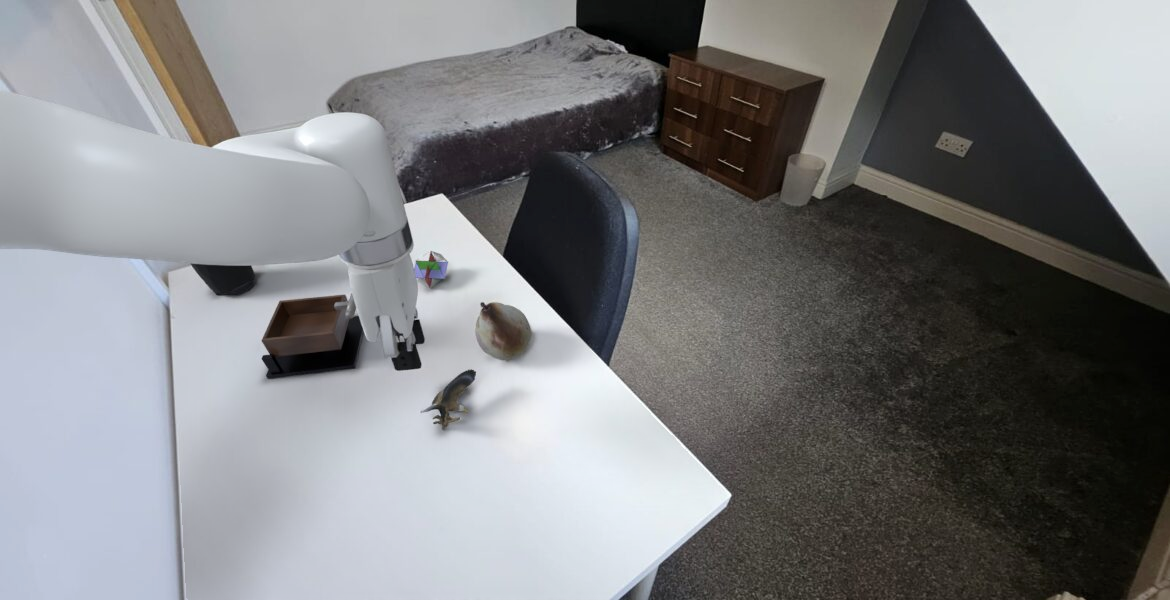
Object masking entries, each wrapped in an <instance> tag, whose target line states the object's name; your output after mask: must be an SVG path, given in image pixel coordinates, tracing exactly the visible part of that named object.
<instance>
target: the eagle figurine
mask: <svg viewBox="0 0 1170 600" xmlns="http://www.w3.org/2000/svg"><path fill="white" fill-rule="evenodd" d="M476 376H477V371H476V370H475V369H472V368H471V369H470V368H469V369H467V370H465V371H462V372H460V373H459V374H457V376H455V377H454V378H453V379H452V380H451V381H450V382H448V384H447V385H446V386H445V387H444V388H443V389H442V390H440V391H438V393H436V395H435V396H434V398H433V400H432V401H431V405H430V406H427V407H426V408H423V409H421V410H420V414H425V413H428V412H431V411H434V410H438V412H439V414H440V415H439V414H437V415H435V416H433V417H432V420H435V419H437V420H435V421H433V422H432V424H433V425H437V424H438V425H441V430H442V431H444V430H445V429H446V427H448V426H449V424H450V423H453V422H458V421H460V420H461V417H460V416H457V417H452V416H450V412H464V413H468V410H467V409H466V406H465V405H462V404H459V403H458V400H459V397H460V396H461V395H462V394H463V393H465V392H467V391H468V387H469V386H471V385H472V384H473V383H474V381H476Z"/></svg>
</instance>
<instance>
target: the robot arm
mask: <svg viewBox="0 0 1170 600" xmlns="http://www.w3.org/2000/svg"><path fill="white" fill-rule="evenodd" d="M414 246H415V244H414V238H413V235H412V231H411V226H410V222H409V219H408V216H407V212H406V207H405V204H404V200H403V196H402V191H401V188H400V184H399V179H398V176H397V172H396V167H395V164H394V160H393V156H392V152H391V147H390V144H389V140H388V137H387V133H386V131H385V128H384V127H383V125H381V123H380V122H379V121H378V120H377V119H376V118H374V117H373V116H370V115H368V114H364V113H360V112H351V111H349V112H348V111H347V112H345V111H344V112H343V111H342V112H332V113H327V114H323V115H319V116H316V117H314V118H312V119H309V120H307V121H305V122H304V123H303V124H301V125H300V126H296V127H291V128H286V129H281V130H275V131H269V132H262V133H255V134H247V135H242V136H236V137H233V138H230V139H229V138H228V139H226V140H223V141H221V142H218V143H217V144H215V145H212V146H207V145H202V144H198V143H193V142H188V141H184V140H180V139H177V138H172V137H168V136H165V135H160V134H157V133H153V132H149V131H145V130H142V129H139V128H135V127H132V126H129V125H125V124H123V123H119V122H117V121H113V120H110V119H108V118H104V117H101V116H99V115H96V114H92V113H89V112H87V111H84V110H80V109H77V108H73V107H71V106H67V105H64V104H60V103H56V102H52V101H49V100H45V99H41V98H38V97H37V98H36V97H33V96H28V95H25V94H20V93H16V92H13V91H9V90H8V91H7V90H3V89H0V250H41V251H50V252H51V251H52V252H58V253H66V254H73V255H81V256H91V257H99V258H114V259H115V258H118V259H129V260H131V259H132V260H143V261H145V260H146V261H155V262H166V263H167V262H169V263H179V264H180V263H181V264H190V263H191V264H205V265H233V266H248V265H251V266H269V265H285V264H300V263H301V264H302V263H311V262H318V261H324V260H327V259H331V258H333V257H337V256H339V259H340V261H341V262H342V263H343V264H344V265H345V266H347V273H348V274H347V275H348V280H349V286H350V291H351V293H352V294H353V298H354V302H355V305H356V311H357V314H358V315H357V316H359V318H360V321H361V324H362V328H363V331H364V333H363V334H364V336H365V338H366V340H367V341H369V343H373V342H377V341H378V337H379V333H380V336H381V342H382V349H383V357H384V359H391V362H392V365H393V367H394V370H395V371H396V372H401V371H411V370H420V369H421V368H422V365H423V364H422V360H421V357H420V354H419V351H418V347H417V345H423V344H424V343H425V341H426V337H425V334H424V330H423V327H422V323H421V320H420V319H419V312H418V309H417V303H418V302H417V301H418V295H419V286H418V278H416V274H415V270H414V269H415V268H414V267H415V266H414V264H413V260H412V256H411V253H412V251H413V249H414ZM191 264H190V265H191ZM412 331H413V334H414V336H415V339H416V341H415V344H413V343H412V339H411V335H410V334H411V332H412ZM400 336H402V337H404V341H405V342H400ZM397 339H398V340H397Z"/></svg>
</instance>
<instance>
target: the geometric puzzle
mask: <svg viewBox="0 0 1170 600" xmlns="http://www.w3.org/2000/svg"><path fill="white" fill-rule="evenodd" d="M429 253H430V254H429V256H428V260H418V259H416V260H415V262H414V266H413V267H414V270H415V274H416V279H421V280H422V279H423V280H425V283H426V284H427V288H429V289H430V290H431V289H432V288H433V287H435V286H436V284H434V285H433V286H432V282H433V280H441V281H443V280H446V276H447V271H448V265H449V261H448V260H447V259H446V257H444V256H443V254H441V253H439V252H436V251H433V250H430V251H429ZM426 255H427V253H425V254H424V256H426ZM439 283H440V281H438V282H437V284H439ZM422 285H424V286H425V284H424V283H422Z"/></svg>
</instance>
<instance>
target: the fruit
mask: <svg viewBox="0 0 1170 600" xmlns="http://www.w3.org/2000/svg"><path fill="white" fill-rule="evenodd" d="M479 305H480V307H481V309H480V312H479V315H478V317H477V319H476V322H475V327H474V334H475V339H476V342H477V344H478V346H479V347H480V349H481V350H482V351H483V352H484V353H485V354H487V355H488V356H491V357H493V358H494V359H497V360H500V361H505V362H509V361H511V360H513V359H515V358H517V357H519V356H521V355H522V354H523V353H524V352H525V351H526V350H527V348H528V346H529V343H530V342H531V338H532V328H531V325H530V322H529V320H528V318H527V316H526V315H525V313H524V312H522V310H520V309H518V308H517V307H516V306H512V305H509V304H505V303H502V302H497V301H493V302H489V303H487V304H486V303H485V302H483V301H481V302H480V303H479Z"/></svg>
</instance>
